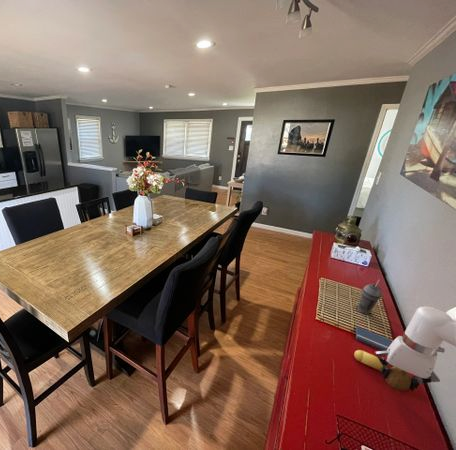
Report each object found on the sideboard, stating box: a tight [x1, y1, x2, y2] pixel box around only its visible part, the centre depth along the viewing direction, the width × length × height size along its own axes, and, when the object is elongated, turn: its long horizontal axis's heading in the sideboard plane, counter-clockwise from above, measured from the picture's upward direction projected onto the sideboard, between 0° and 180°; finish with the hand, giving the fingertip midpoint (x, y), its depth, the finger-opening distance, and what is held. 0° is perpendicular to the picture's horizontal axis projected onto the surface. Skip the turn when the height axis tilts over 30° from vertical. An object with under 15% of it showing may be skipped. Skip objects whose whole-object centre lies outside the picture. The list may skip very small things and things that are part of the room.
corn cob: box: [353, 349, 395, 372], centre depth 92 cm, size 15×4×4 cm, turn 52°
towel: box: [355, 326, 393, 351], centre depth 104 cm, size 12×8×2 cm, turn 52°
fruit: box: [385, 367, 412, 392], centre depth 82 cm, size 6×6×8 cm
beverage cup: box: [357, 278, 383, 315], centre depth 117 cm, size 7×7×20 cm
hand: (397, 380), depth 83 cm, fingers closed on fruit, 6 cm apart
